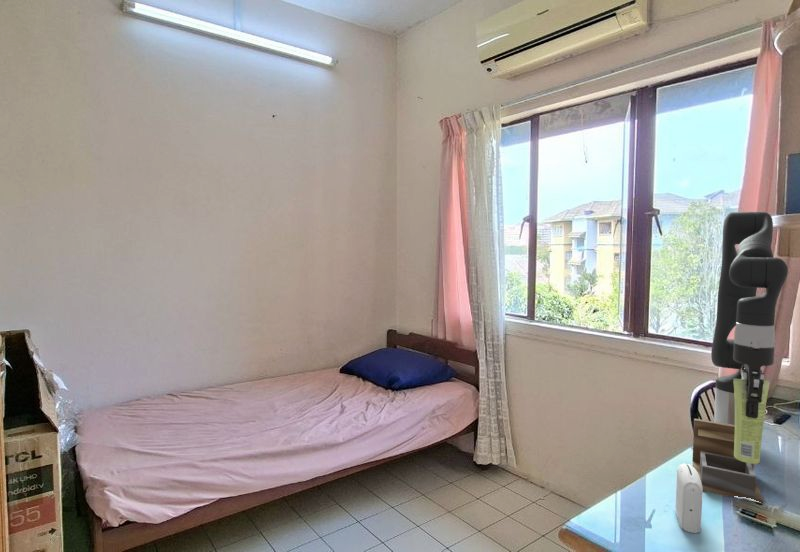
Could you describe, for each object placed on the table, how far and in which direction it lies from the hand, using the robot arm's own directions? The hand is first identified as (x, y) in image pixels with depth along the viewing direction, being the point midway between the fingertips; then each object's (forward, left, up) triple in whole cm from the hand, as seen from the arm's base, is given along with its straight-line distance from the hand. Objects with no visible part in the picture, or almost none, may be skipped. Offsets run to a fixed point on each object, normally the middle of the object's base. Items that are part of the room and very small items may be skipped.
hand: (750, 413), depth 108 cm
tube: (0, 0, -11) cm, 11 cm away
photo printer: (+12, -12, -24) cm, 29 cm away
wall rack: (-13, -3, -24) cm, 27 cm away
